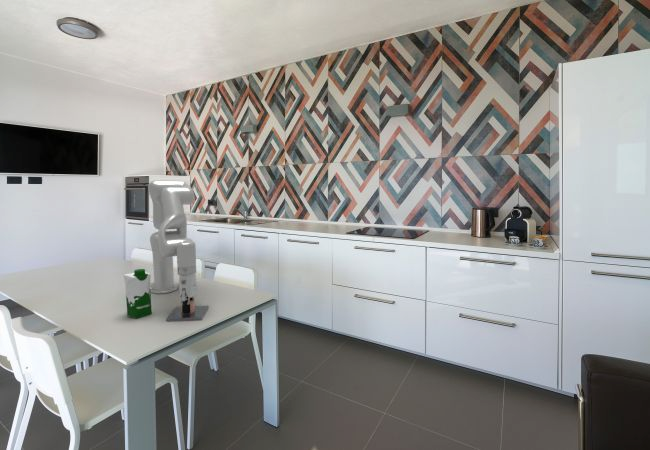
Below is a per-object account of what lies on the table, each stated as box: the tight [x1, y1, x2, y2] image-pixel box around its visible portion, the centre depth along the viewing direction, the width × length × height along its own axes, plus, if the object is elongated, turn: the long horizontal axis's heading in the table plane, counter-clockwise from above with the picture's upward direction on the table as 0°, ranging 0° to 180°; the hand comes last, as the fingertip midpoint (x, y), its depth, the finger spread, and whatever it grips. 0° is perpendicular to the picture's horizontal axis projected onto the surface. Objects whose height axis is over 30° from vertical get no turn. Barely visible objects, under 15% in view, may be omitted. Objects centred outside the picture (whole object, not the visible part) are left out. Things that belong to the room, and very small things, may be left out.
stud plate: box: [165, 304, 210, 322], centre depth 145 cm, size 14×14×4 cm
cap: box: [180, 300, 196, 314], centre depth 145 cm, size 5×5×4 cm
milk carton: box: [123, 268, 153, 320], centre depth 144 cm, size 9×9×20 cm
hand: (188, 310), depth 145 cm, fingers closed on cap, 5 cm apart
